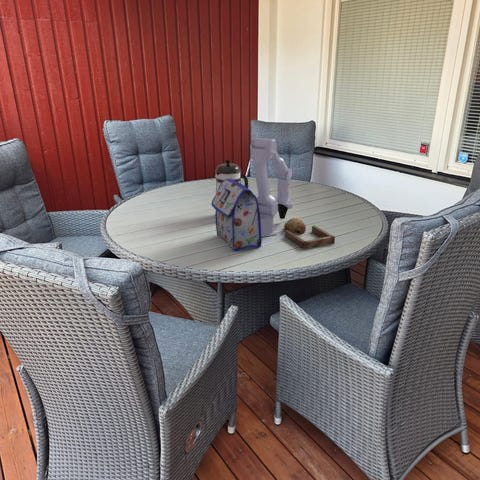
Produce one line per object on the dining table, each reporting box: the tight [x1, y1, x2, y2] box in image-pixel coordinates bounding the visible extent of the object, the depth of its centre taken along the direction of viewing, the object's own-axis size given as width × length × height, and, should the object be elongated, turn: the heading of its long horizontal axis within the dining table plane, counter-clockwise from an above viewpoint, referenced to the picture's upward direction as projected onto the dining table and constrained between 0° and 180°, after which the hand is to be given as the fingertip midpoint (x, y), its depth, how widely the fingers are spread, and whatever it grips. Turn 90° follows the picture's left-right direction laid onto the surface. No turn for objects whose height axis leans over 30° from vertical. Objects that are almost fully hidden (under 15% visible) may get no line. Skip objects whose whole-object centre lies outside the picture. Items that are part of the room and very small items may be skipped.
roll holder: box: [284, 225, 336, 250], centre depth 178 cm, size 16×16×3 cm
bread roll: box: [283, 217, 307, 236], centre depth 188 cm, size 10×10×8 cm
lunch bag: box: [210, 179, 263, 252], centre depth 172 cm, size 23×17×27 cm
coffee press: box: [214, 159, 249, 217], centre depth 204 cm, size 17×16×30 cm
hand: (282, 218), depth 198 cm, fingers closed
